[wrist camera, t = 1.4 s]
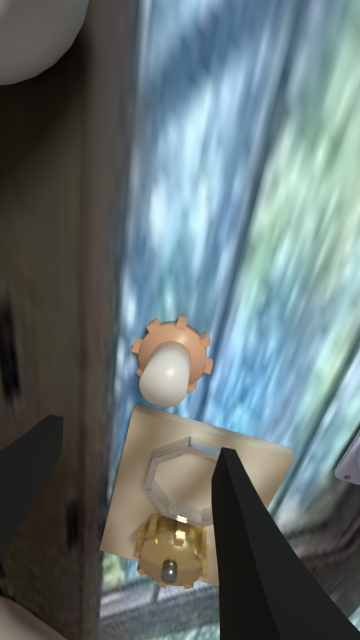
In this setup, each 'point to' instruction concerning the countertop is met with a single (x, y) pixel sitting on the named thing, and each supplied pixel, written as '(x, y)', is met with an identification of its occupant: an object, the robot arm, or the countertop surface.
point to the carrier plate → (181, 476)
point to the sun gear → (172, 551)
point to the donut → (36, 35)
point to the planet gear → (171, 361)
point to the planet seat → (159, 496)
